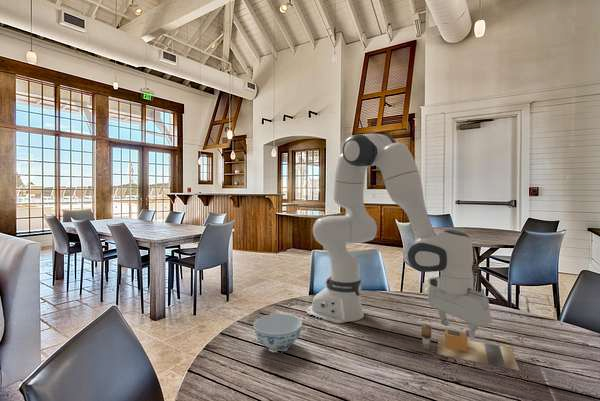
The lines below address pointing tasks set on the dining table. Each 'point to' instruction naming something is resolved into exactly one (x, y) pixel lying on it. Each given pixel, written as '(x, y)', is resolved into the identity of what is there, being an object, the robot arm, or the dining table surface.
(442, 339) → the panel
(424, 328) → the brown goblet
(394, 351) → the dining table surface
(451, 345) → the orange box
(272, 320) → the chinaware
